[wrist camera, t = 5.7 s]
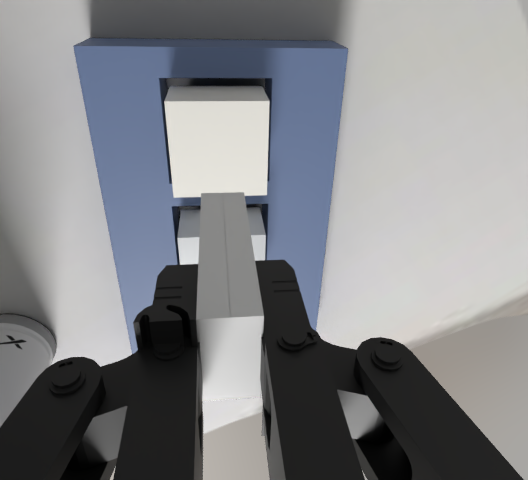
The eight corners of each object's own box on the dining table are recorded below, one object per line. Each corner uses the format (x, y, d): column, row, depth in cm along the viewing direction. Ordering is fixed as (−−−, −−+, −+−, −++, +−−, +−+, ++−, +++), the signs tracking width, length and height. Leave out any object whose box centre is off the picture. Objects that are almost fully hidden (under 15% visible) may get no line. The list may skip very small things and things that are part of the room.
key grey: (180, 209, 27) (177, 237, 24) (259, 207, 27) (265, 234, 25) (186, 274, 30) (184, 306, 27) (258, 270, 30) (264, 302, 27)
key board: (90, 37, 24) (73, 45, 21) (332, 40, 26) (348, 48, 23) (143, 346, 37) (137, 378, 34) (303, 336, 38) (311, 366, 35)
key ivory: (170, 85, 23) (164, 101, 20) (262, 86, 24) (269, 101, 21) (177, 172, 26) (173, 197, 23) (260, 170, 26) (266, 195, 23)
